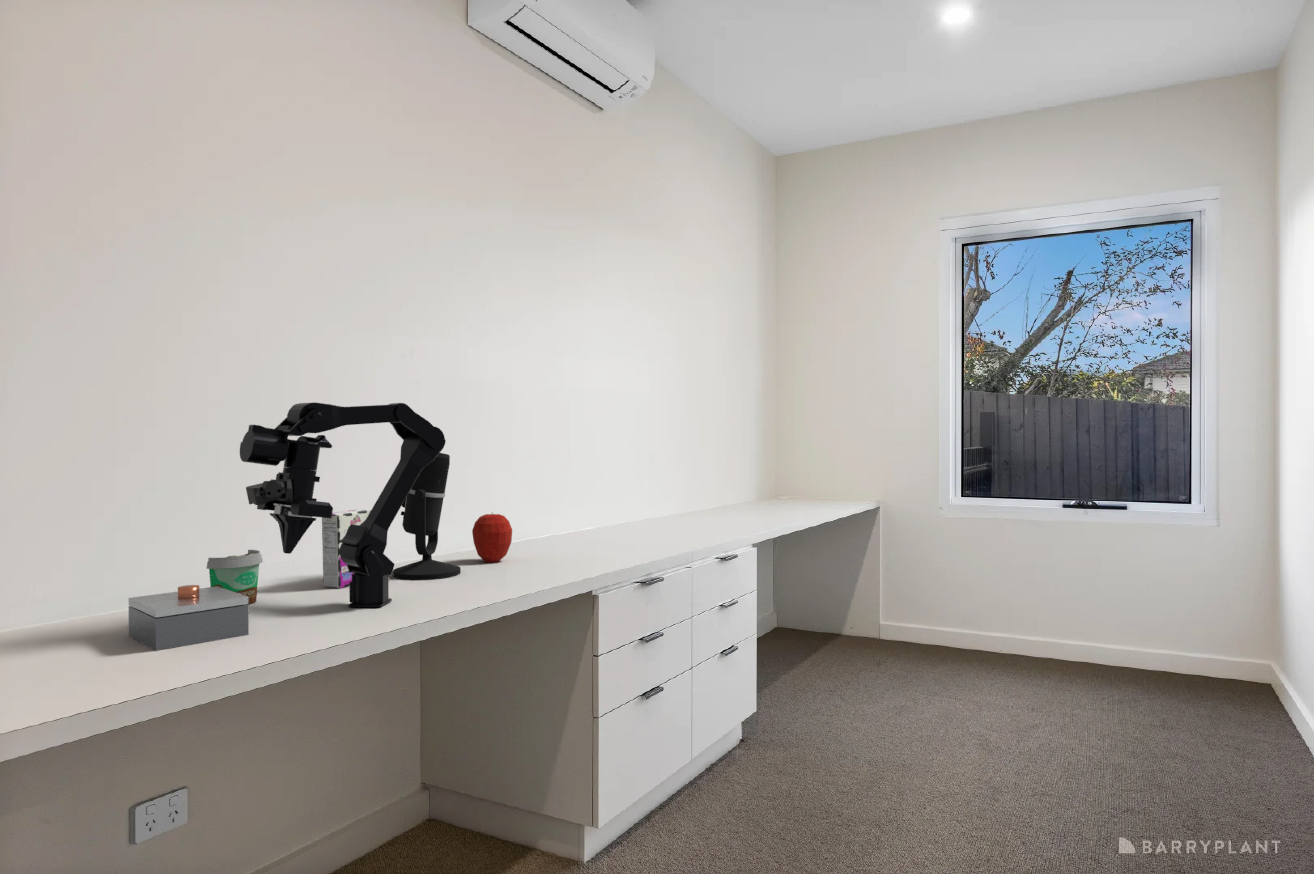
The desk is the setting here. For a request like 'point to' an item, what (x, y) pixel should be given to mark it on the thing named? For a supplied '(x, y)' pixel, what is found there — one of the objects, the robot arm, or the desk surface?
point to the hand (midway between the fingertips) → (287, 553)
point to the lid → (187, 600)
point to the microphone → (426, 522)
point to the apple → (492, 537)
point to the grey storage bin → (188, 626)
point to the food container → (236, 573)
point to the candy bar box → (338, 546)
